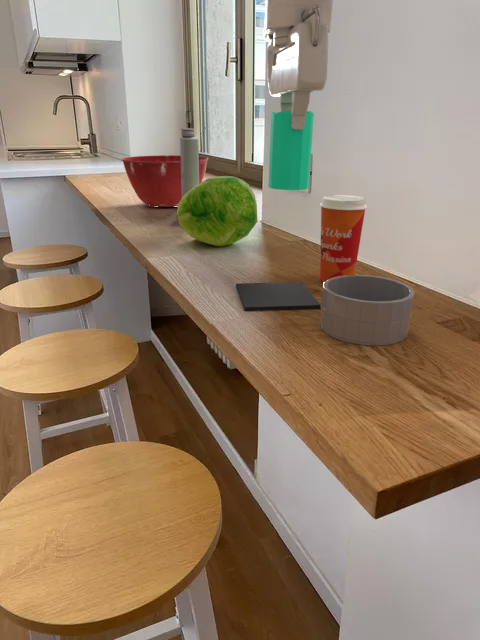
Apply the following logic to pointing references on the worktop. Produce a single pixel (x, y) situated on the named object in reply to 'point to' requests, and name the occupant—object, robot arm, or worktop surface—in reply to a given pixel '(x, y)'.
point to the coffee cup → (340, 234)
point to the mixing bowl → (158, 178)
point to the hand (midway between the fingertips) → (291, 129)
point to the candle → (290, 152)
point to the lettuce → (218, 211)
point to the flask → (189, 160)
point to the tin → (366, 309)
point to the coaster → (276, 296)
